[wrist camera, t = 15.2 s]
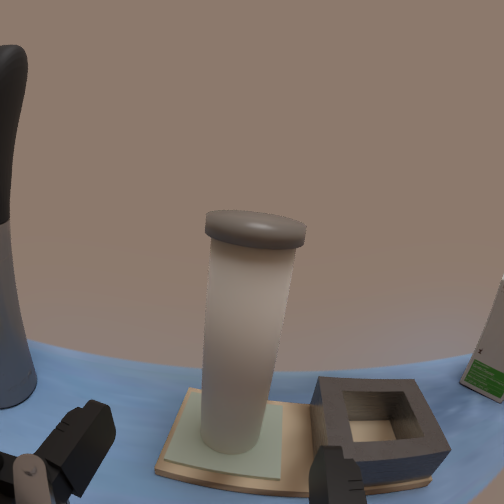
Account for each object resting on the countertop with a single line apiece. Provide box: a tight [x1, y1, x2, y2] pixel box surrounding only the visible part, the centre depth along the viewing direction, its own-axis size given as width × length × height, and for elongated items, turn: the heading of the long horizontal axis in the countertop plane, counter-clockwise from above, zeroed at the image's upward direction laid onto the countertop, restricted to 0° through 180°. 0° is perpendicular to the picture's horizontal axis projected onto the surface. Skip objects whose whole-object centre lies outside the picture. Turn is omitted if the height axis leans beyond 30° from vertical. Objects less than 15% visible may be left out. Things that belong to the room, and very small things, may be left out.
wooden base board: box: [154, 376, 451, 497], centre depth 22 cm, size 23×11×5 cm, turn 85°
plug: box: [200, 210, 307, 455], centre depth 20 cm, size 6×6×18 cm
